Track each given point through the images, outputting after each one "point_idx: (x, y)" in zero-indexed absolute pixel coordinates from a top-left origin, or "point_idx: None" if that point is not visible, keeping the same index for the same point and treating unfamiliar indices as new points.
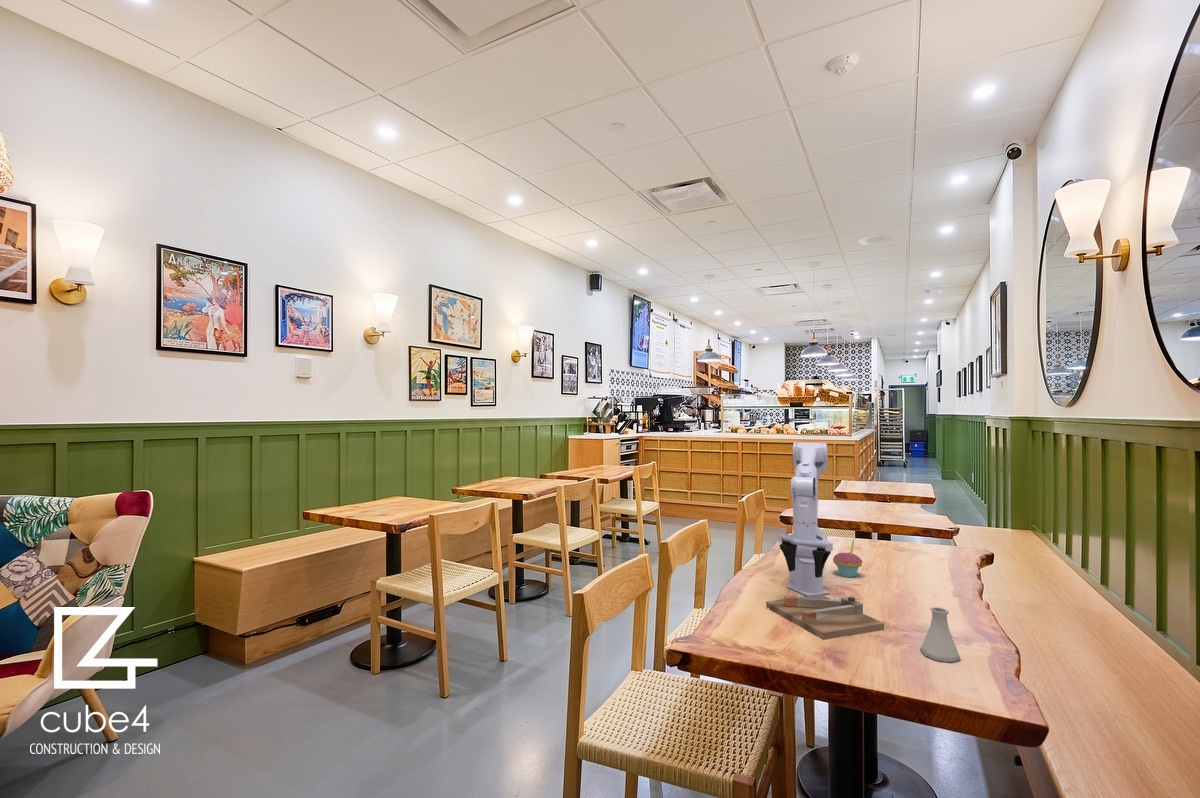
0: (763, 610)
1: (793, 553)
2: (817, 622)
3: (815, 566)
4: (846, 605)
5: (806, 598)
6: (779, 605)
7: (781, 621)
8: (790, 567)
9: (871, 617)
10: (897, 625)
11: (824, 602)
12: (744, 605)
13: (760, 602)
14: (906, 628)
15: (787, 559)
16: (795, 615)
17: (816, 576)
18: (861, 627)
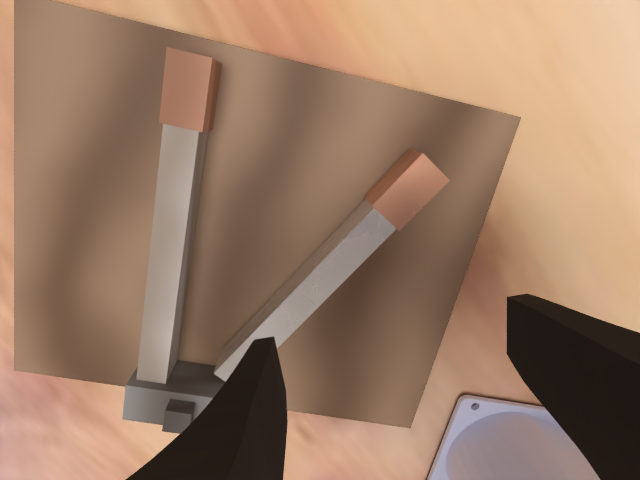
0: (488, 66)
1: (625, 468)
2: (151, 103)
3: (247, 389)
4: (166, 354)
5: (344, 258)
6: (437, 135)
7: (327, 17)
8: (528, 311)
9: (90, 380)
10: (47, 428)
11: (270, 310)
12: (602, 32)
13: (567, 150)
14: (9, 430)
15: (607, 334)
16: (285, 83)
17: (260, 341)
18: (15, 247)
